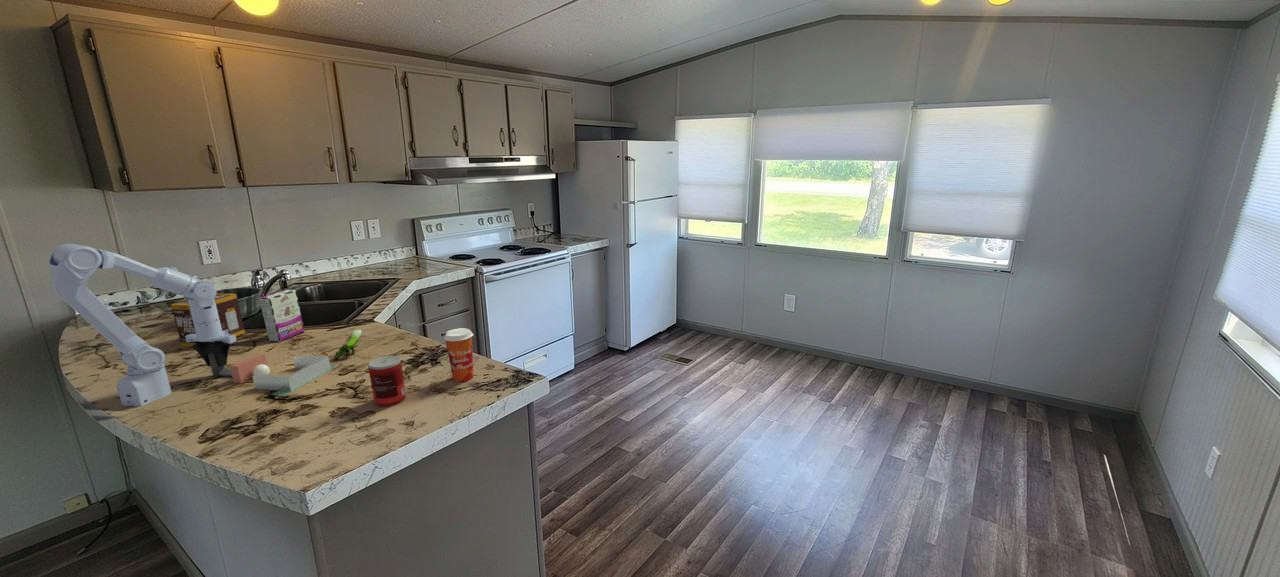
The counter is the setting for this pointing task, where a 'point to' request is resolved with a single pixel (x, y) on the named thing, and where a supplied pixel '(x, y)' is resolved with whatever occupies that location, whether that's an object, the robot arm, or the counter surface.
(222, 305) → the supplement box
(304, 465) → the counter surface
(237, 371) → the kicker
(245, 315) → the bundt pan
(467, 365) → the paper cup
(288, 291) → the candy bar box
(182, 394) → the counter surface
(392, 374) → the canned food
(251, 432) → the counter surface
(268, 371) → the ball
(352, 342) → the leek
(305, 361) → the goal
